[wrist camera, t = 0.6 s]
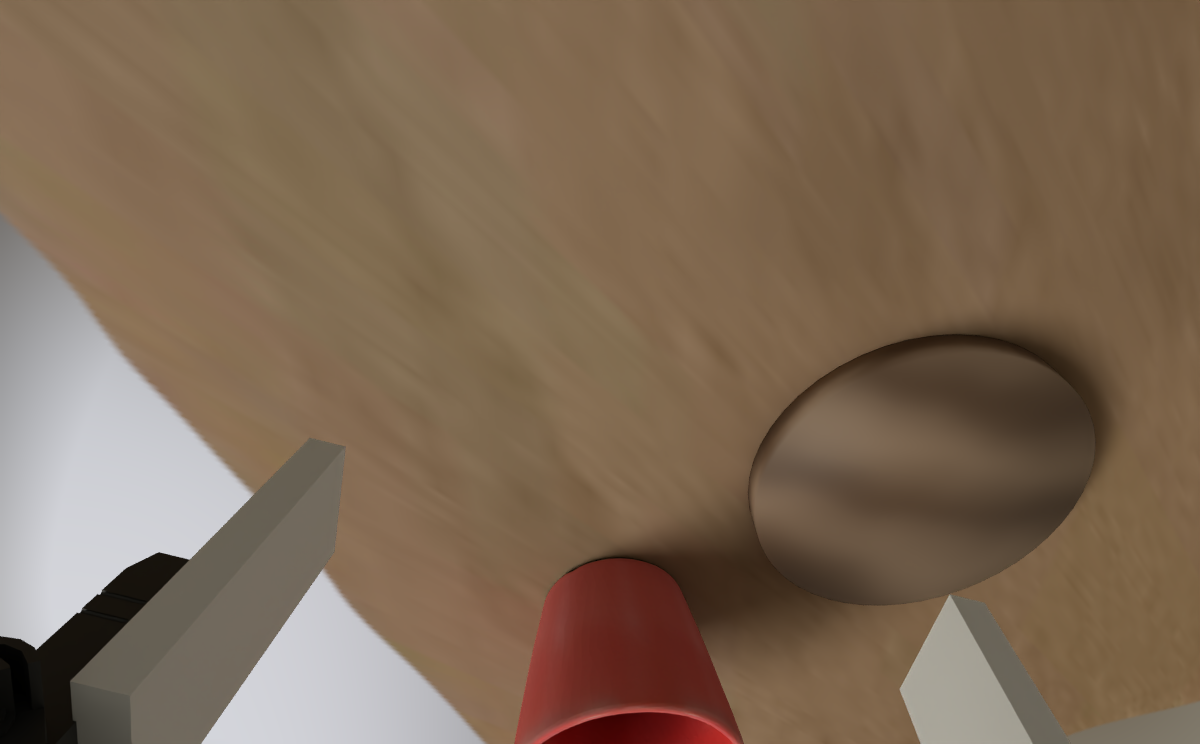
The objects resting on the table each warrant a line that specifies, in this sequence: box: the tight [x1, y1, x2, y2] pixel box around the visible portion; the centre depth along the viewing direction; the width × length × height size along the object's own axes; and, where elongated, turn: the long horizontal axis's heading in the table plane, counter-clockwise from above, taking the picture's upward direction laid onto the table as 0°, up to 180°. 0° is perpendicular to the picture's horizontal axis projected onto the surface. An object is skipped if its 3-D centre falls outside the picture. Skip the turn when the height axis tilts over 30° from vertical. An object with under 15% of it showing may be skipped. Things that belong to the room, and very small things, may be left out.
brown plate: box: [748, 335, 1096, 605], centre depth 35 cm, size 16×16×2 cm
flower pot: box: [514, 558, 744, 744], centre depth 36 cm, size 11×11×10 cm
